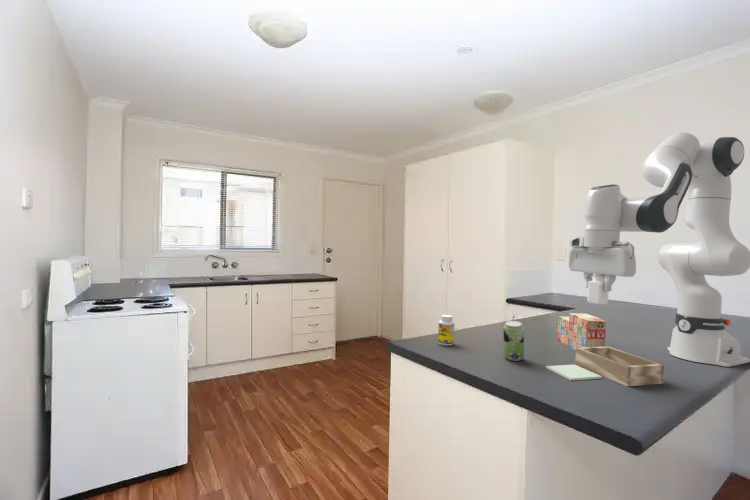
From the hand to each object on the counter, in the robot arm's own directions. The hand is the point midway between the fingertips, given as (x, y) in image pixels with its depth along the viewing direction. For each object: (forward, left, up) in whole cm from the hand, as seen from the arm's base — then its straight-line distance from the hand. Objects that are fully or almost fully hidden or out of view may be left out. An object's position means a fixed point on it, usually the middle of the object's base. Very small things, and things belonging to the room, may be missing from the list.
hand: (598, 289), depth 106 cm
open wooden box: (-7, +1, -24) cm, 25 cm away
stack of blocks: (-16, -24, -25) cm, 38 cm away
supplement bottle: (+30, -35, -24) cm, 52 cm away
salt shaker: (0, 0, -4) cm, 4 cm away
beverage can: (+16, -15, -24) cm, 33 cm away
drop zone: (+6, -1, -24) cm, 25 cm away
